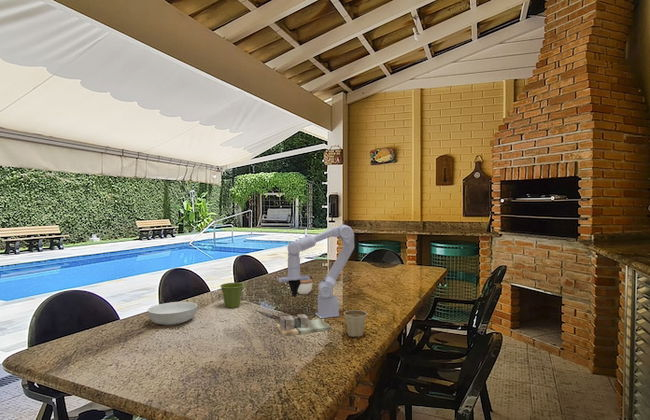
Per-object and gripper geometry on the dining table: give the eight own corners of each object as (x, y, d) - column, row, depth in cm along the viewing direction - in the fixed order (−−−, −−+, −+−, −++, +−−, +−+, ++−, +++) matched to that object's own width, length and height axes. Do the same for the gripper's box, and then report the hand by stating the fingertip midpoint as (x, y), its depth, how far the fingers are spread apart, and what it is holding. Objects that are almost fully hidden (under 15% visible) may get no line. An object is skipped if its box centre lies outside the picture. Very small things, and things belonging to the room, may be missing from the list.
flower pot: (369, 332, 155) (369, 311, 155) (364, 339, 146) (364, 317, 146) (347, 329, 158) (347, 309, 158) (341, 337, 149) (340, 315, 149)
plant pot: (215, 308, 192) (215, 286, 192) (229, 302, 203) (229, 281, 203) (235, 310, 188) (234, 288, 187) (248, 304, 199) (248, 283, 198)
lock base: (321, 321, 169) (321, 309, 169) (331, 329, 158) (331, 317, 158) (276, 327, 162) (276, 314, 162) (283, 336, 150) (283, 323, 150)
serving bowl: (207, 318, 176) (207, 303, 176) (172, 332, 157) (171, 315, 157) (174, 313, 184) (174, 299, 184) (137, 326, 165) (136, 310, 165)
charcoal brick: (305, 323, 162) (305, 317, 162) (308, 325, 159) (308, 319, 159) (285, 326, 158) (285, 319, 158) (287, 328, 156) (287, 321, 156)
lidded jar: (292, 292, 226) (291, 276, 226) (308, 290, 231) (308, 275, 231) (298, 296, 216) (298, 279, 216) (315, 294, 221) (315, 278, 221)
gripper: (306, 265, 183) (306, 293, 183) (276, 267, 178) (277, 296, 178) (310, 267, 176) (311, 296, 177) (280, 269, 171) (280, 299, 171)
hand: (294, 296), depth 177 cm, fingers closed
